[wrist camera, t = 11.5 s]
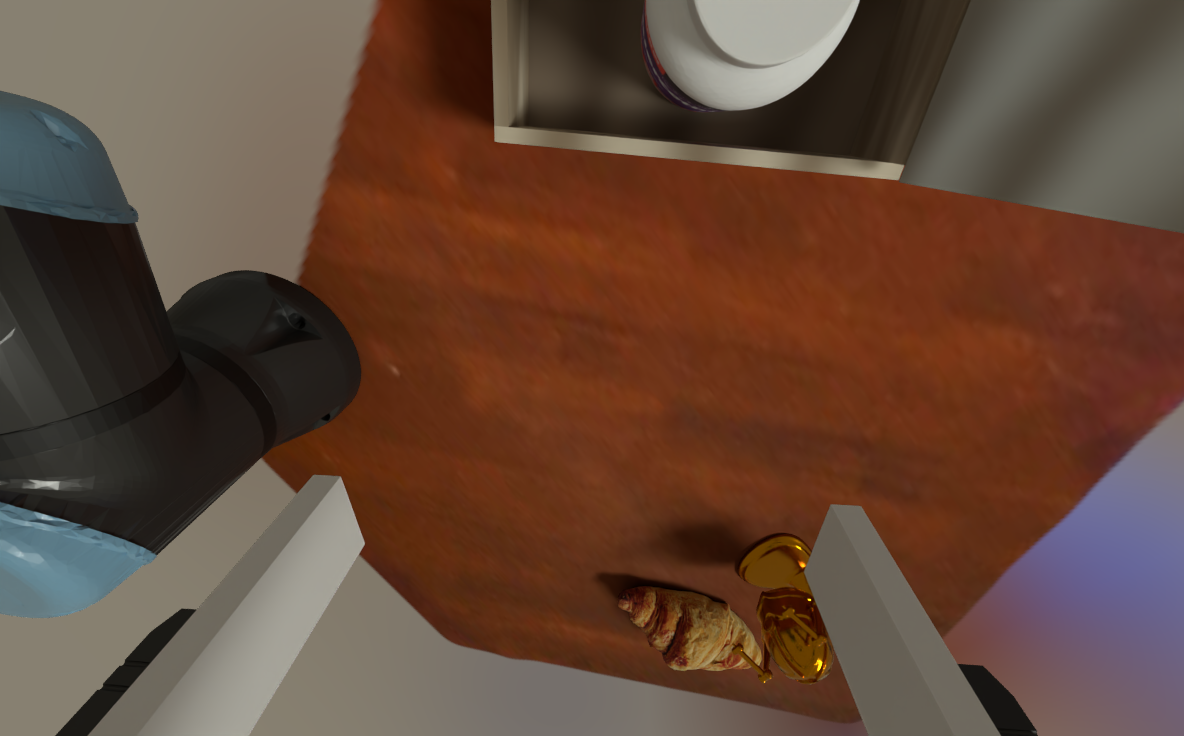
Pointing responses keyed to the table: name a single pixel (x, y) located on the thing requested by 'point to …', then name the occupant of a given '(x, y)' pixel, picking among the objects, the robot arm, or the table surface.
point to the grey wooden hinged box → (890, 99)
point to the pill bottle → (738, 48)
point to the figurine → (786, 611)
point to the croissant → (689, 628)
